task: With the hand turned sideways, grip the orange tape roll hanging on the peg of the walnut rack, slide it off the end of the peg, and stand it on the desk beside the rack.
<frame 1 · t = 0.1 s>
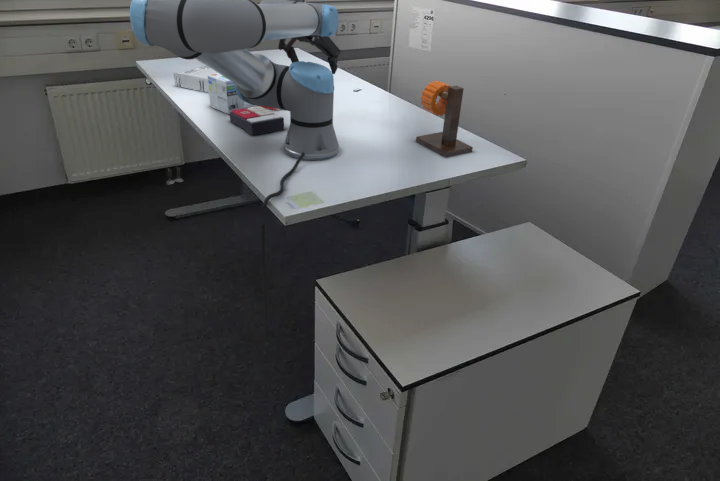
hand: (315, 67, 177), 15 cm above the table, tool tilted 35°, fingers open, 13 cm apart
tape roll: (436, 113, 164), point 8 cm above the table, touching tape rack
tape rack: (447, 148, 164), on the table
light bulb box: (227, 109, 186), on the table
white cardboard box: (227, 88, 207), on the table
red and white cube: (273, 106, 191), on the table
red and black box: (257, 126, 173), on the table
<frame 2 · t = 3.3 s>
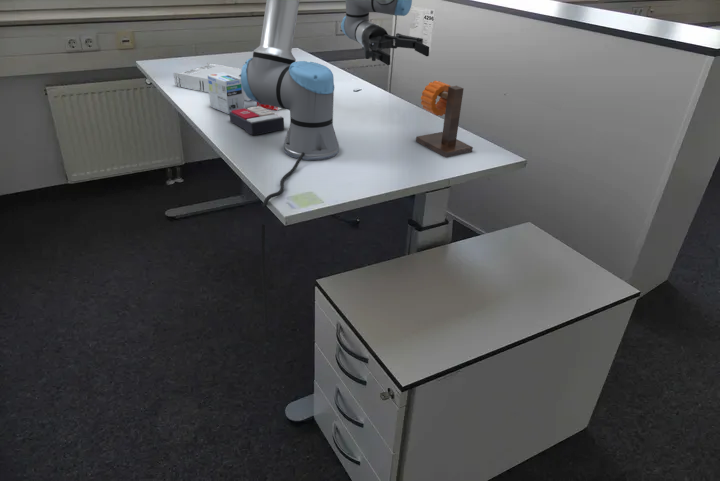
hand: (408, 56, 164), 23 cm above the table, tool horizontal, fingers open, 13 cm apart
nothing on the table moved.
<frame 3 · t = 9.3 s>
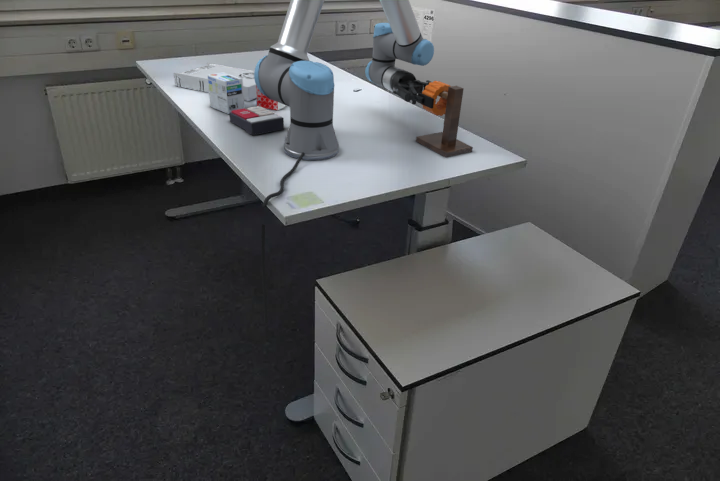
hand: (445, 101, 160), 13 cm above the table, tool horizontal, fingers closed on tape roll, 9 cm apart
tape roll: (436, 113, 164), point 8 cm above the table, touching gripper, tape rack
everything else where it was.
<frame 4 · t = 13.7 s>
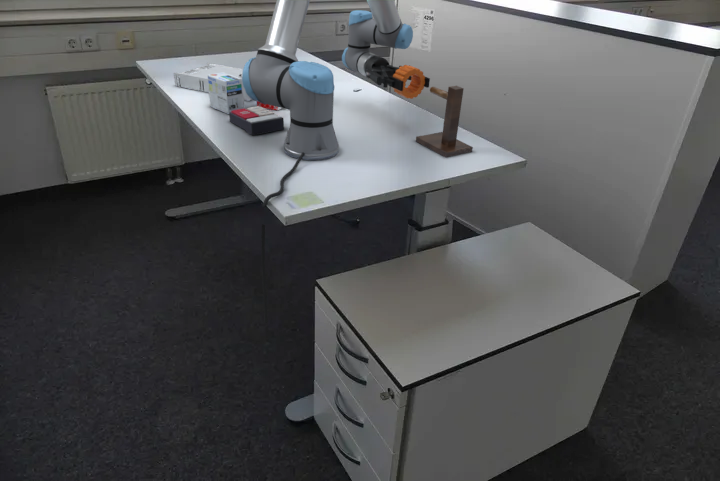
hand: (415, 84, 166), 15 cm above the table, tool horizontal, fingers closed on tape roll, 9 cm apart
tape roll: (407, 96, 171), point 10 cm above the table, touching gripper
everything else where it was.
when the fingers open (5 cm above the table, at t = 17.9 s): tape roll stays where it is, on the table.
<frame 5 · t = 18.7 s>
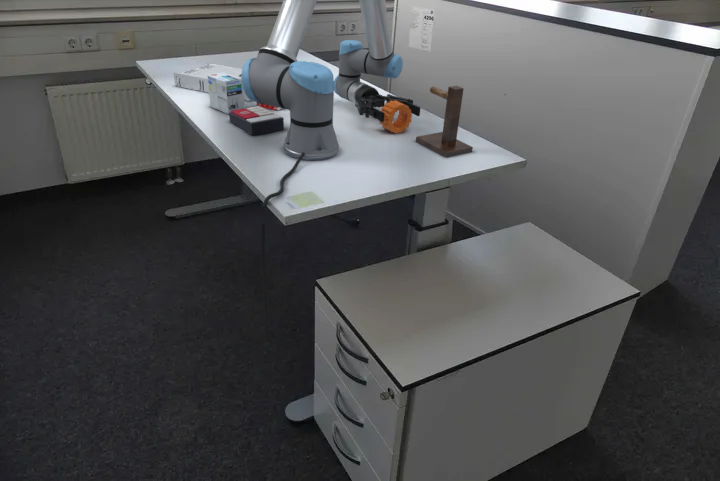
hand: (401, 114, 171), 6 cm above the table, tool horizontal, fingers open, 13 cm apart
tape roll: (395, 130, 175), on the table, tilted 7°
everything else where it was.
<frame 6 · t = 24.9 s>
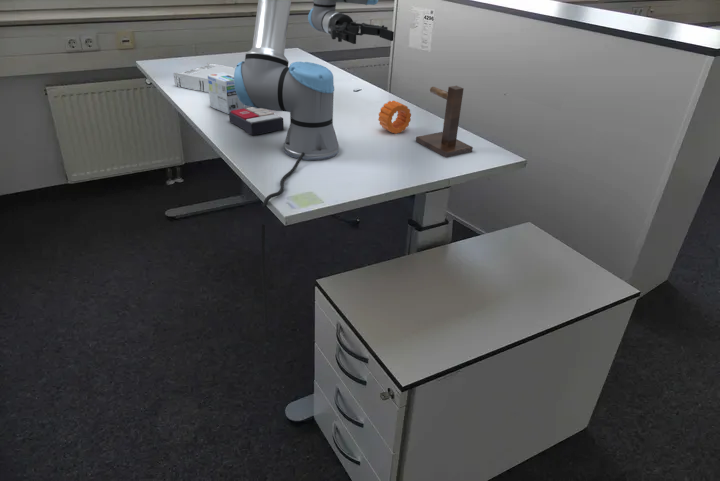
hand: (374, 37, 169), 26 cm above the table, tool horizontal, fingers open, 13 cm apart
nothing on the table moved.
at the end: tape roll inside the target area (0.2 cm from its centre), on the table; tape roll touching table; the gripper is holding nothing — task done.
